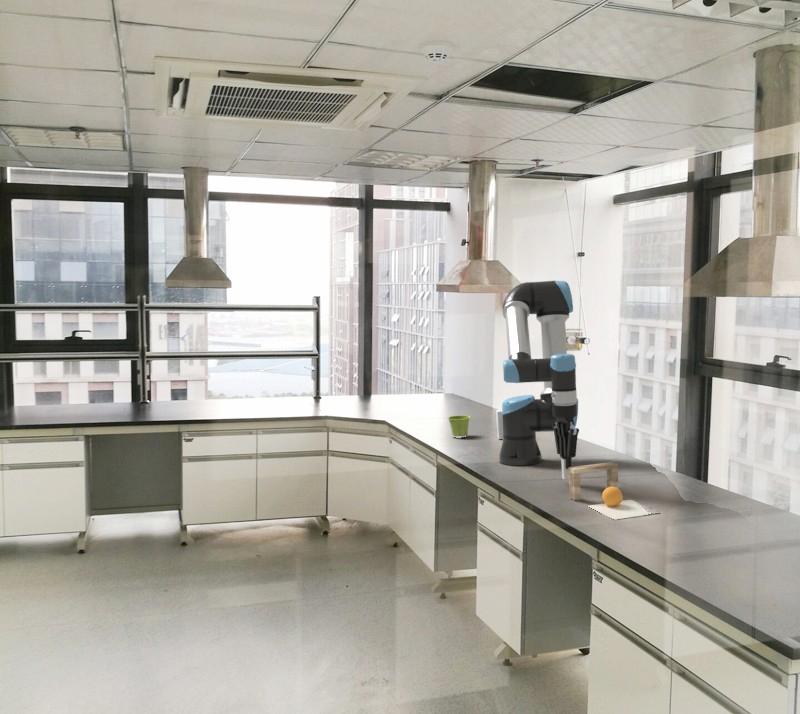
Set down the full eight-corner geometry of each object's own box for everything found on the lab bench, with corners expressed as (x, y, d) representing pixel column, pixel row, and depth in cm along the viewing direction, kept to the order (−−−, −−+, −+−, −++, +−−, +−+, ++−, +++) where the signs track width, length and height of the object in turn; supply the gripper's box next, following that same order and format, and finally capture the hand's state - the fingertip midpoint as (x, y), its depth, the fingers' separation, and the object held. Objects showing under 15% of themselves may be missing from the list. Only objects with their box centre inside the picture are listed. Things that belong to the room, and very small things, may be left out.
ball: (610, 506, 207) (600, 508, 212) (628, 504, 208) (618, 506, 213) (606, 486, 208) (597, 488, 213) (624, 484, 209) (614, 486, 215)
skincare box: (511, 437, 315) (510, 409, 314) (513, 439, 311) (512, 410, 310) (496, 438, 315) (495, 409, 314) (498, 440, 311) (497, 411, 310)
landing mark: (587, 506, 212) (587, 505, 212) (630, 500, 216) (630, 499, 216) (614, 520, 198) (614, 519, 198) (660, 513, 202) (660, 512, 202)
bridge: (569, 498, 221) (568, 467, 220) (613, 492, 225) (612, 461, 224) (574, 500, 218) (573, 469, 217) (618, 494, 222) (617, 463, 221)
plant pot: (469, 439, 316) (468, 419, 315) (447, 439, 318) (446, 419, 317) (472, 435, 325) (471, 415, 324) (451, 435, 327) (450, 415, 326)
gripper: (543, 402, 240) (546, 475, 242) (563, 407, 227) (566, 484, 229) (564, 400, 242) (567, 472, 244) (586, 405, 229) (588, 481, 231)
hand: (567, 478), depth 237 cm, fingers closed
